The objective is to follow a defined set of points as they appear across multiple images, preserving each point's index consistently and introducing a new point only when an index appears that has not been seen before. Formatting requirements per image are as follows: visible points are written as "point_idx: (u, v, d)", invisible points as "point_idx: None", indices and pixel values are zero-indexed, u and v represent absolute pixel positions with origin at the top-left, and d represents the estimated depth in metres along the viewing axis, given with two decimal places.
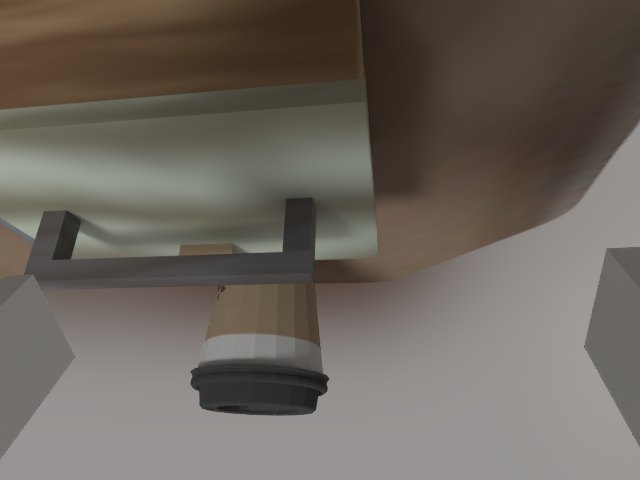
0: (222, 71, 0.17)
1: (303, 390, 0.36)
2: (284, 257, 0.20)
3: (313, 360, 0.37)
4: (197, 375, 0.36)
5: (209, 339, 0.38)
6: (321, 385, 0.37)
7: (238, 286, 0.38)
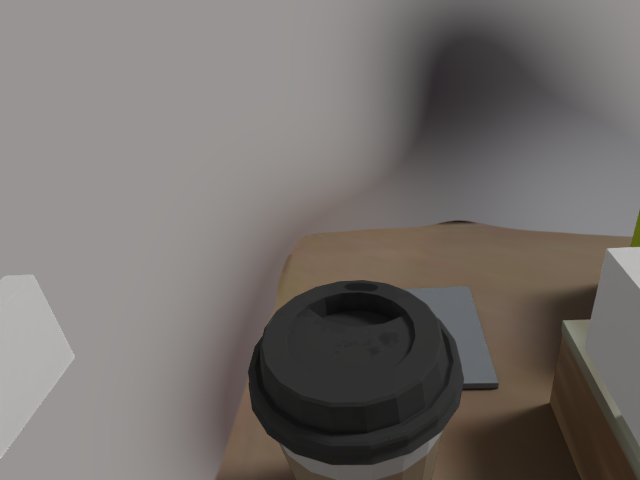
0: None
1: (404, 414, 0.21)
2: None
3: (392, 459, 0.22)
4: None
5: None
6: (380, 445, 0.20)
7: None
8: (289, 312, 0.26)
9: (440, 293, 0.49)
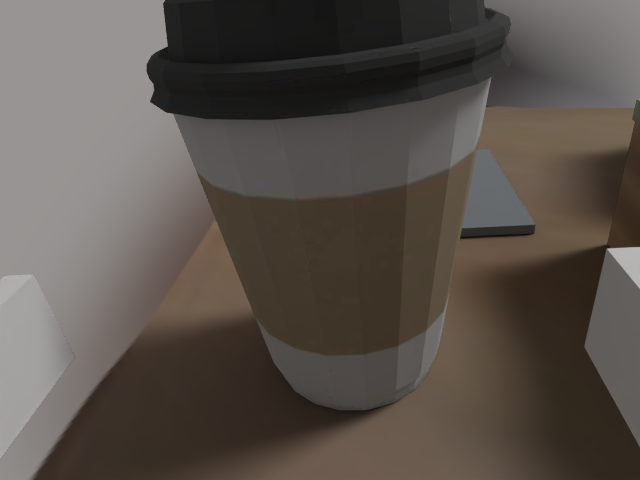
0: None
1: (410, 30, 0.11)
2: None
3: (388, 139, 0.12)
4: None
5: None
6: (365, 67, 0.10)
7: None
8: None
9: None
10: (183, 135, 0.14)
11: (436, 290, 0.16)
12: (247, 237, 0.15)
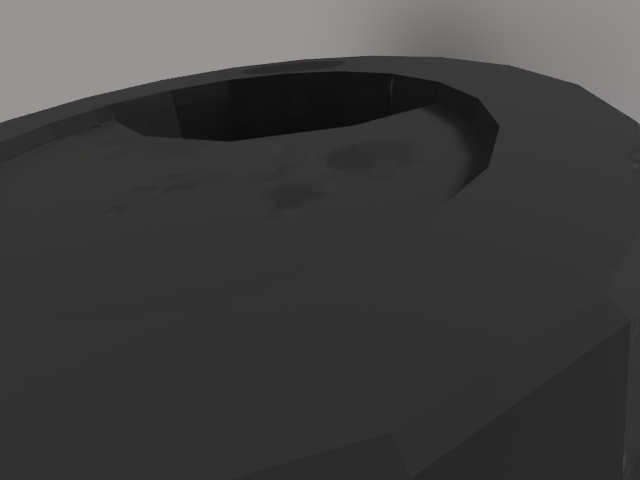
0: None
1: None
2: None
3: None
4: None
5: None
6: None
7: None
8: (33, 121, 0.08)
9: None
10: None
11: None
12: None
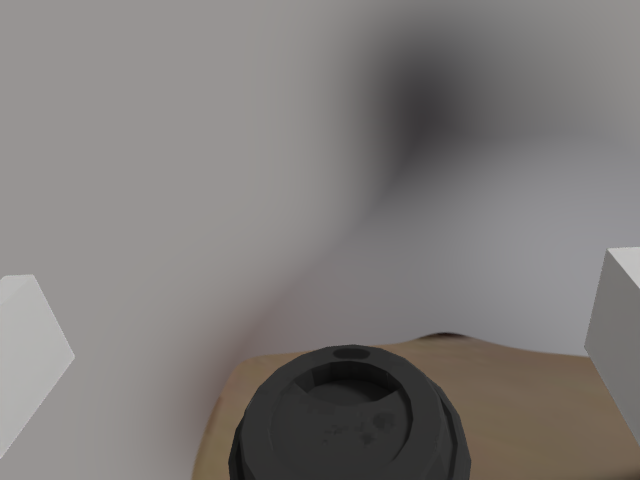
0: None
1: None
2: None
3: None
4: None
5: None
6: None
7: None
8: (272, 389, 0.23)
9: None
10: None
11: None
12: None
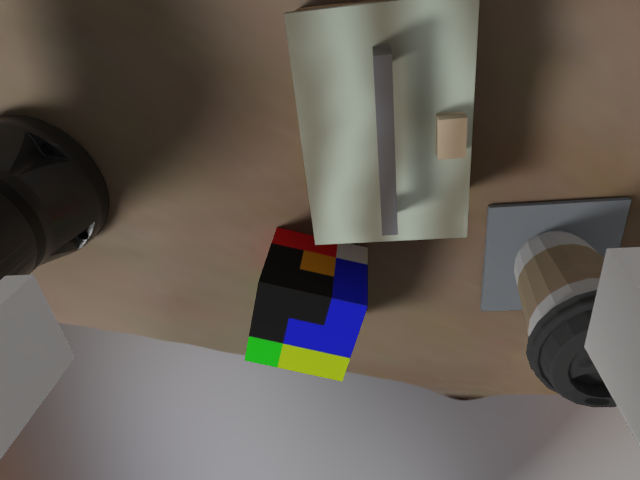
0: None
1: (583, 316, 0.35)
2: None
3: (581, 291, 0.37)
4: None
5: None
6: None
7: None
8: None
9: (510, 303, 0.52)
10: None
11: (534, 268, 0.44)
12: None
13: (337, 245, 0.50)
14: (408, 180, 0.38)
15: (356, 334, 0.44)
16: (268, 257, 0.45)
